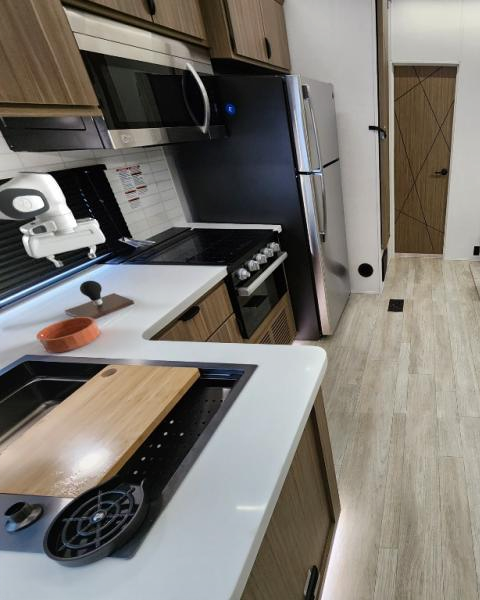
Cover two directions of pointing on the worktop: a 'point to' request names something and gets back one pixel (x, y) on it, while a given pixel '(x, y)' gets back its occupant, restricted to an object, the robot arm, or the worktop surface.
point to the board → (100, 307)
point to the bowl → (68, 334)
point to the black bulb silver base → (92, 291)
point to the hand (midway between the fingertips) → (77, 262)
